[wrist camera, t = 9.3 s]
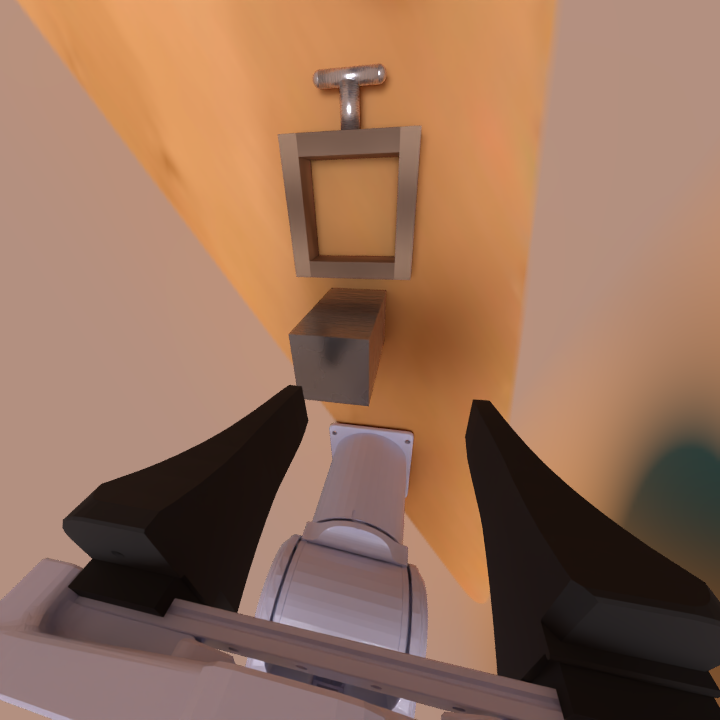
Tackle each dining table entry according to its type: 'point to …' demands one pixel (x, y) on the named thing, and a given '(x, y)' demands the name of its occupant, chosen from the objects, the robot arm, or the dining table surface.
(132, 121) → the dining table surface
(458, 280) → the dining table surface
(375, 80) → the walnut clamp block
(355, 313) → the steel post
